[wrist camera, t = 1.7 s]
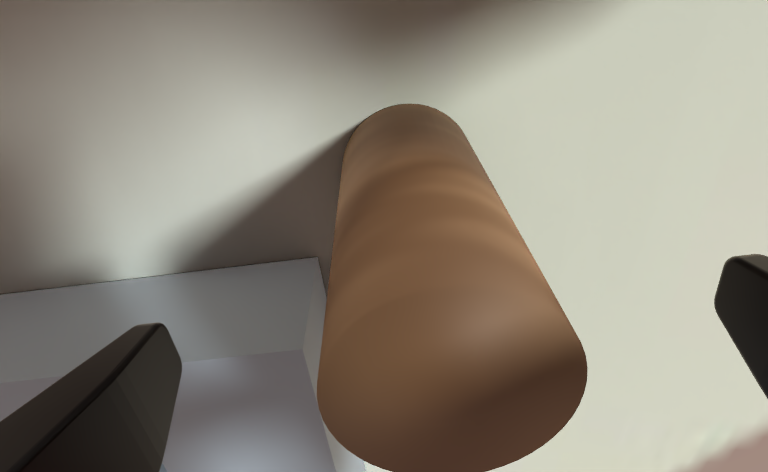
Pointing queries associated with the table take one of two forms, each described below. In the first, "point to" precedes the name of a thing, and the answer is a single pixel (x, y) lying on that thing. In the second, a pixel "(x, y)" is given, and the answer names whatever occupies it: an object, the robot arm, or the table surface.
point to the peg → (437, 310)
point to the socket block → (197, 359)
